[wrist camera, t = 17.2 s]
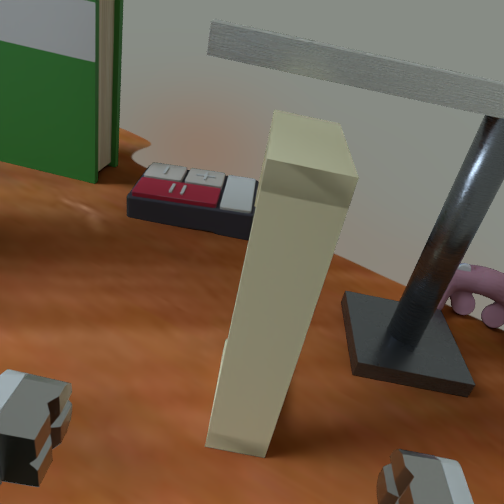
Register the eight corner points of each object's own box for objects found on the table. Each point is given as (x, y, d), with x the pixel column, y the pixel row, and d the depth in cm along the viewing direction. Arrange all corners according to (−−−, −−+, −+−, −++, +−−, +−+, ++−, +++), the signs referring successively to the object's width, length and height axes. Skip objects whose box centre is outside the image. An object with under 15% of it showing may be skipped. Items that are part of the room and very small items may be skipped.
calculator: (150, 158, 60) (259, 175, 60) (149, 187, 62) (255, 203, 63) (125, 190, 51) (255, 210, 51) (125, 224, 53) (250, 242, 53)
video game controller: (513, 348, 47) (542, 288, 47) (525, 357, 43) (556, 291, 42) (422, 310, 50) (447, 252, 50) (424, 314, 46) (452, 252, 45)
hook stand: (164, 338, 37) (199, 26, 25) (188, 271, 45) (223, 15, 33) (467, 397, 38) (646, 123, 25) (434, 320, 46) (557, 88, 34)
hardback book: (117, 165, 64) (124, -28, 52) (94, 183, 58) (95, -31, 46) (1, 137, 65) (-20, -60, 53) (-34, 152, 59) (-68, -67, 46)
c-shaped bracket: (205, 446, 29) (266, 158, 19) (223, 352, 37) (274, 109, 26) (264, 457, 29) (358, 177, 19) (270, 361, 37) (340, 123, 26)
